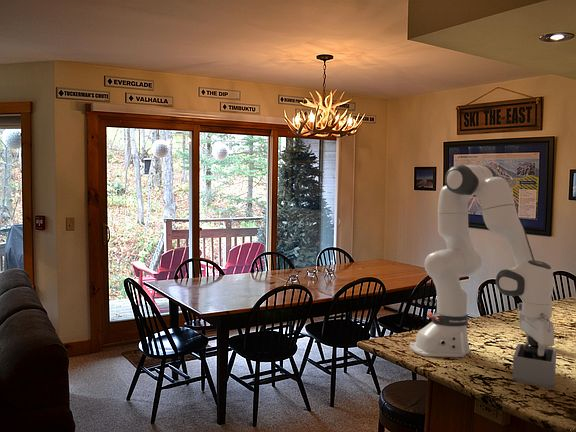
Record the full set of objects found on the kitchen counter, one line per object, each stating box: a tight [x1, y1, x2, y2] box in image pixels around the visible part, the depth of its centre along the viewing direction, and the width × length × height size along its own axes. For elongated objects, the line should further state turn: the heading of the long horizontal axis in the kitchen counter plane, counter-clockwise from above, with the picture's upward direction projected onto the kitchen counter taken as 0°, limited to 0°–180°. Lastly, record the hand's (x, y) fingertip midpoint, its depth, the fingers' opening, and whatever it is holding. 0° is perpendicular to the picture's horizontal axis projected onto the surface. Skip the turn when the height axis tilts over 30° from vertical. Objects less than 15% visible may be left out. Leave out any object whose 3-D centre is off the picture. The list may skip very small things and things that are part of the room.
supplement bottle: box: [524, 336, 547, 361], centre depth 171 cm, size 7×7×12 cm
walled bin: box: [512, 343, 557, 389], centre depth 171 cm, size 16×12×8 cm
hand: (535, 351), depth 171 cm, fingers closed on supplement bottle, 7 cm apart
